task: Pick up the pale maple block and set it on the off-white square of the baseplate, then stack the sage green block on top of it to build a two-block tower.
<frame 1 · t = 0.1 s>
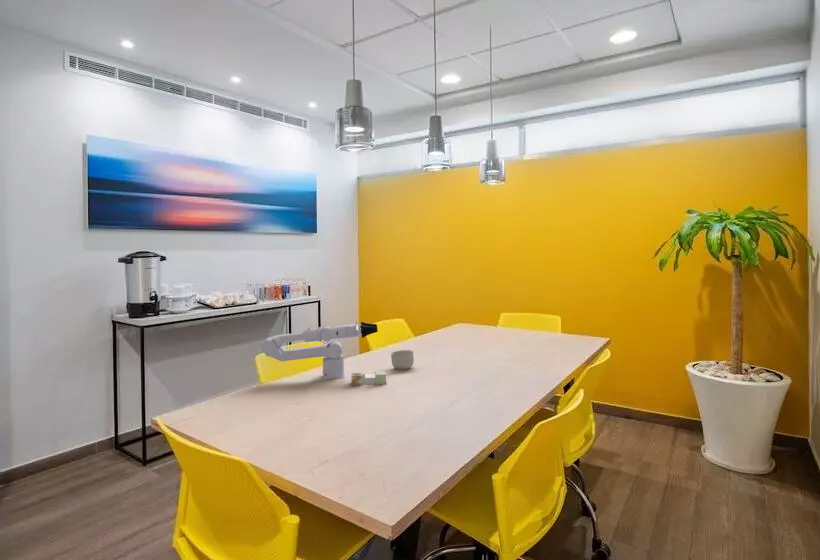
hand: (377, 327, 214), 22 cm above the table, tool horizontal, fingers open, 7 cm apart
teacup: (404, 368, 227), on the table
maple block: (357, 383, 201), resting on baseplate
sage block: (380, 382, 202), resting on baseplate
baseplate: (368, 380, 207), on the table
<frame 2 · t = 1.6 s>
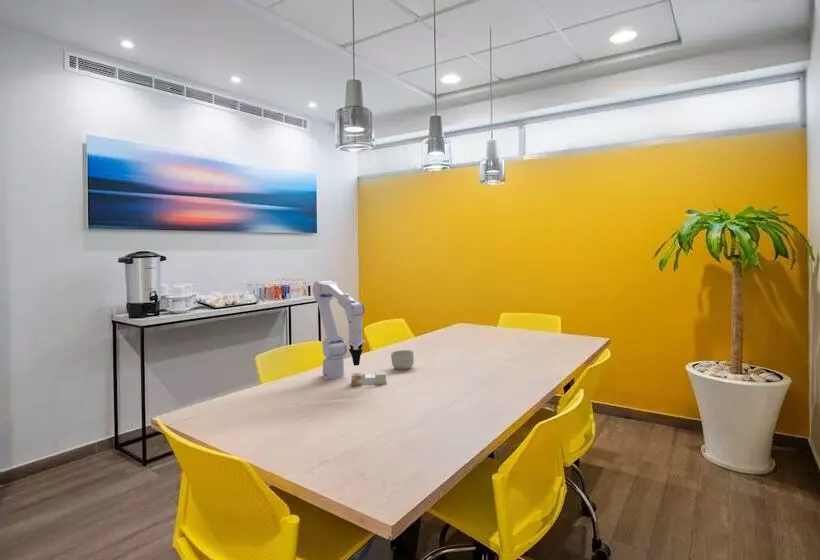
hand: (356, 363, 200), 9 cm above the table, tool pointing down, fingers open, 7 cm apart
nothing on the table moved.
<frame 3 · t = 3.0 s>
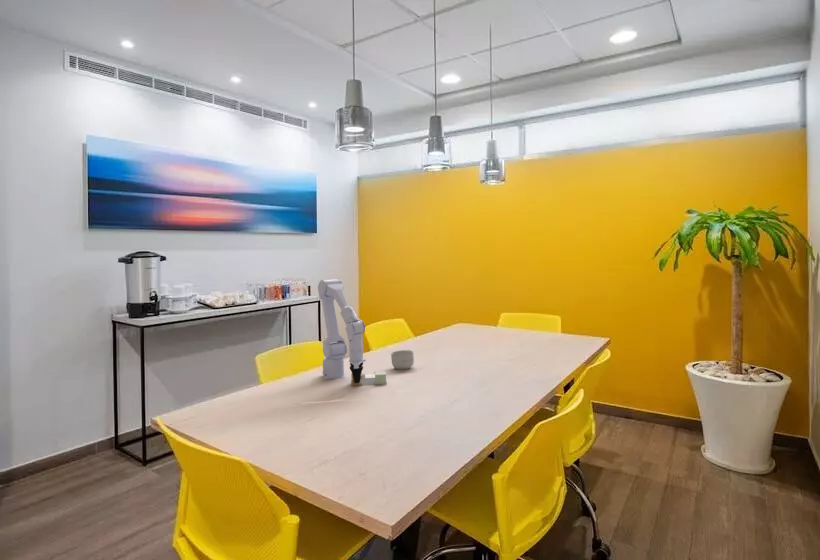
hand: (357, 381, 201), 2 cm above the table, tool pointing down, fingers closed on maple block, 4 cm apart
maple block: (357, 383, 201), resting on baseplate, touching gripper
everything else where it was.
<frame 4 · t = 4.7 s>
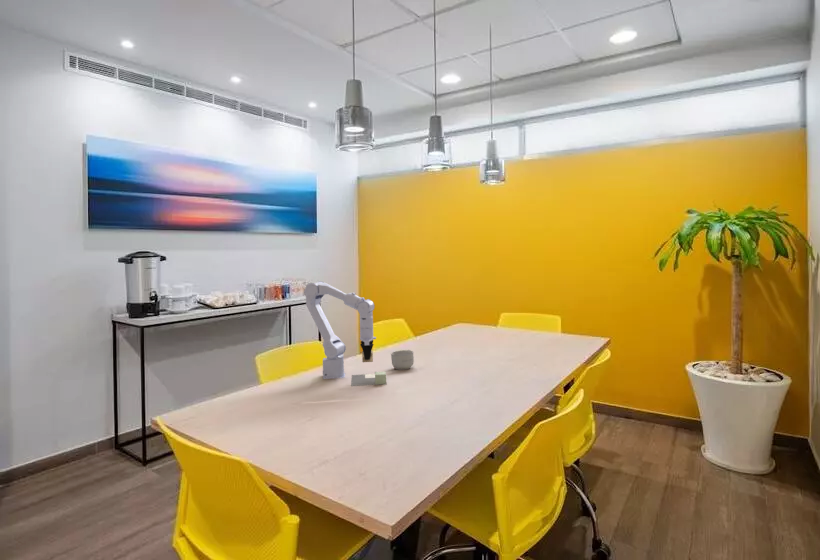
hand: (367, 358, 208), 9 cm above the table, tool pointing down, fingers closed on maple block, 4 cm apart
maple block: (367, 360, 208), point 8 cm above the table, touching gripper
everything else where it was.
when the fingers open (2 cm above the table, at t = 6.8 s): maple block stays where it is, resting on baseplate.
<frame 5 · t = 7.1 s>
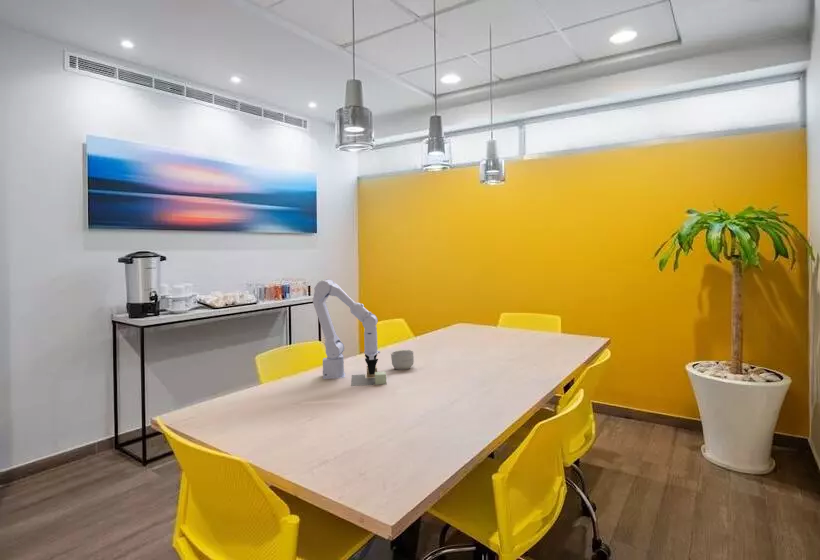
hand: (371, 371, 212), 2 cm above the table, tool pointing down, fingers open, 7 cm apart
maple block: (372, 375, 212), point 1 cm above the table, touching baseplate
everything else where it was.
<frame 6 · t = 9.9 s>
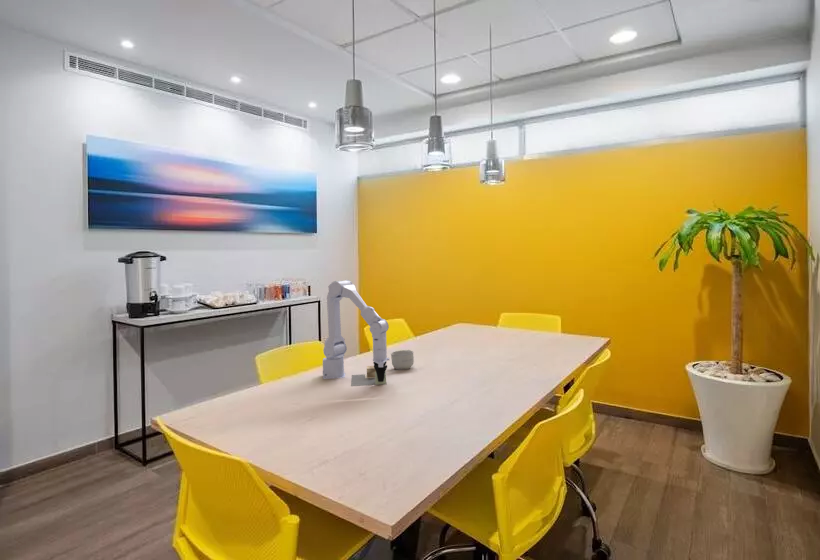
hand: (380, 379, 202), 2 cm above the table, tool pointing down, fingers closed on sage block, 4 cm apart
sage block: (380, 382, 202), resting on baseplate, touching gripper
everything else where it was.
when the fingers open (6 cm above the table, at t = 12.9 s): sage block stays where it is, resting on maple block.
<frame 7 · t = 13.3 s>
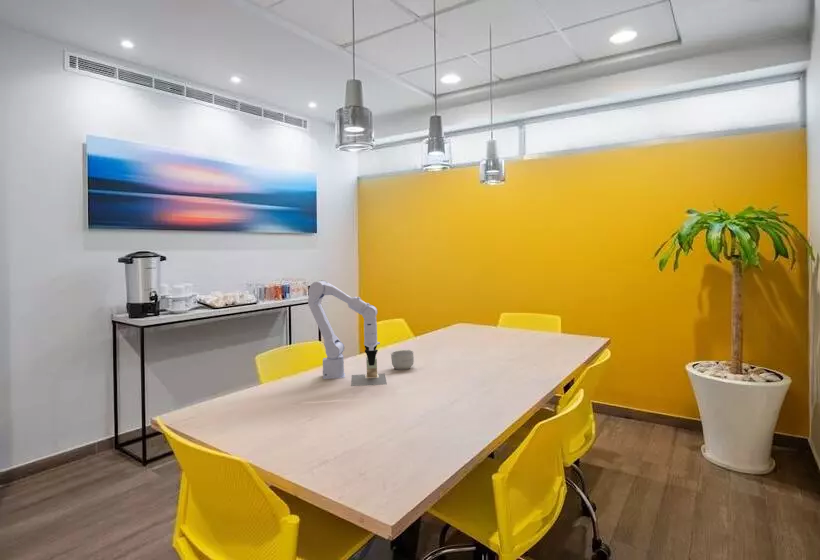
hand: (371, 363, 211), 6 cm above the table, tool pointing down, fingers open, 7 cm apart
maple block: (372, 375, 212), point 1 cm above the table, touching baseplate, sage block
sage block: (371, 367, 211), point 5 cm above the table, touching maple block
everything else where it was.
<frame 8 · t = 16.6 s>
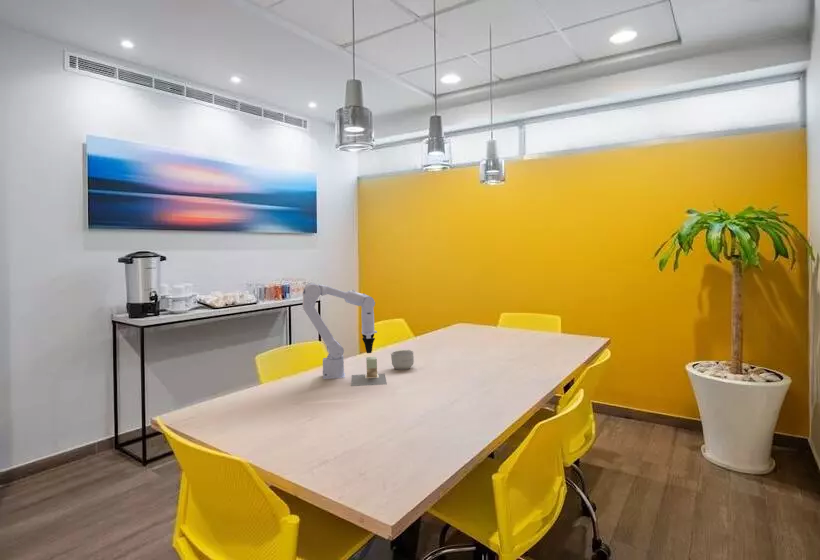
hand: (368, 351, 217), 10 cm above the table, tool pointing down, fingers open, 7 cm apart
nothing on the table moved.
at the end: maple block 0.1 cm from the target spot, point 0.6 cm above the table; sage block 0.1 cm from the maple block (horizontally); sage block point 4.6 cm above the table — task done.
